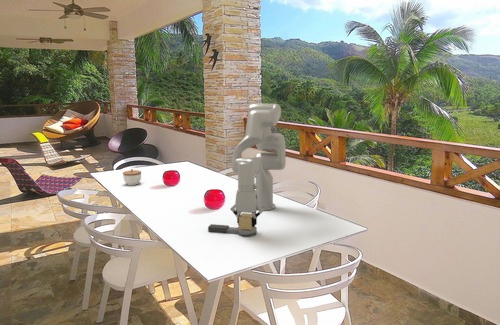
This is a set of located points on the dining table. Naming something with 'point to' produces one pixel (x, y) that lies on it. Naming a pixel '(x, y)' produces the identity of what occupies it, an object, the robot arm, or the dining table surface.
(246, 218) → the brushed gold cube
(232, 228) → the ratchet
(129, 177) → the lidded bowl
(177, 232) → the dining table surface
